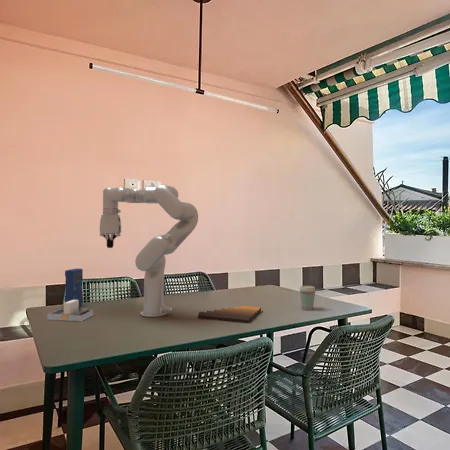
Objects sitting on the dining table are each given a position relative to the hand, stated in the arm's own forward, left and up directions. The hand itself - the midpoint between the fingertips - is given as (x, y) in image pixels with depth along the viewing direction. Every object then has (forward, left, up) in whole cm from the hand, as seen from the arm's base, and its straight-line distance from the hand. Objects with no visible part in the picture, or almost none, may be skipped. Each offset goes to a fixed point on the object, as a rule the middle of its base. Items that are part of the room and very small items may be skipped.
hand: (110, 247), depth 195 cm
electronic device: (+21, -3, -32) cm, 39 cm away
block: (+11, +18, -32) cm, 38 cm away
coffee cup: (-102, -20, -32) cm, 109 cm away
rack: (+11, +18, -32) cm, 38 cm away
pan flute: (-63, 0, -33) cm, 71 cm away
